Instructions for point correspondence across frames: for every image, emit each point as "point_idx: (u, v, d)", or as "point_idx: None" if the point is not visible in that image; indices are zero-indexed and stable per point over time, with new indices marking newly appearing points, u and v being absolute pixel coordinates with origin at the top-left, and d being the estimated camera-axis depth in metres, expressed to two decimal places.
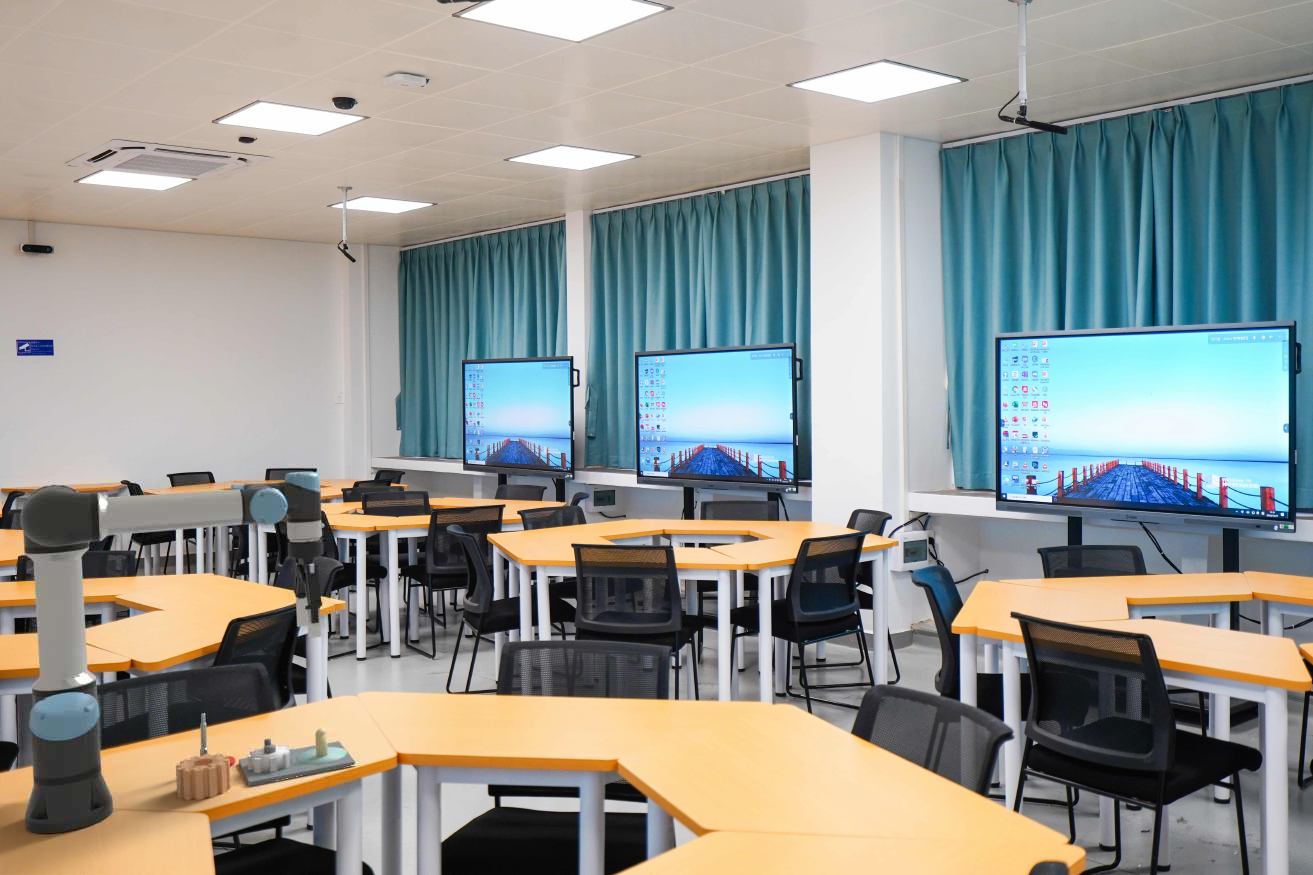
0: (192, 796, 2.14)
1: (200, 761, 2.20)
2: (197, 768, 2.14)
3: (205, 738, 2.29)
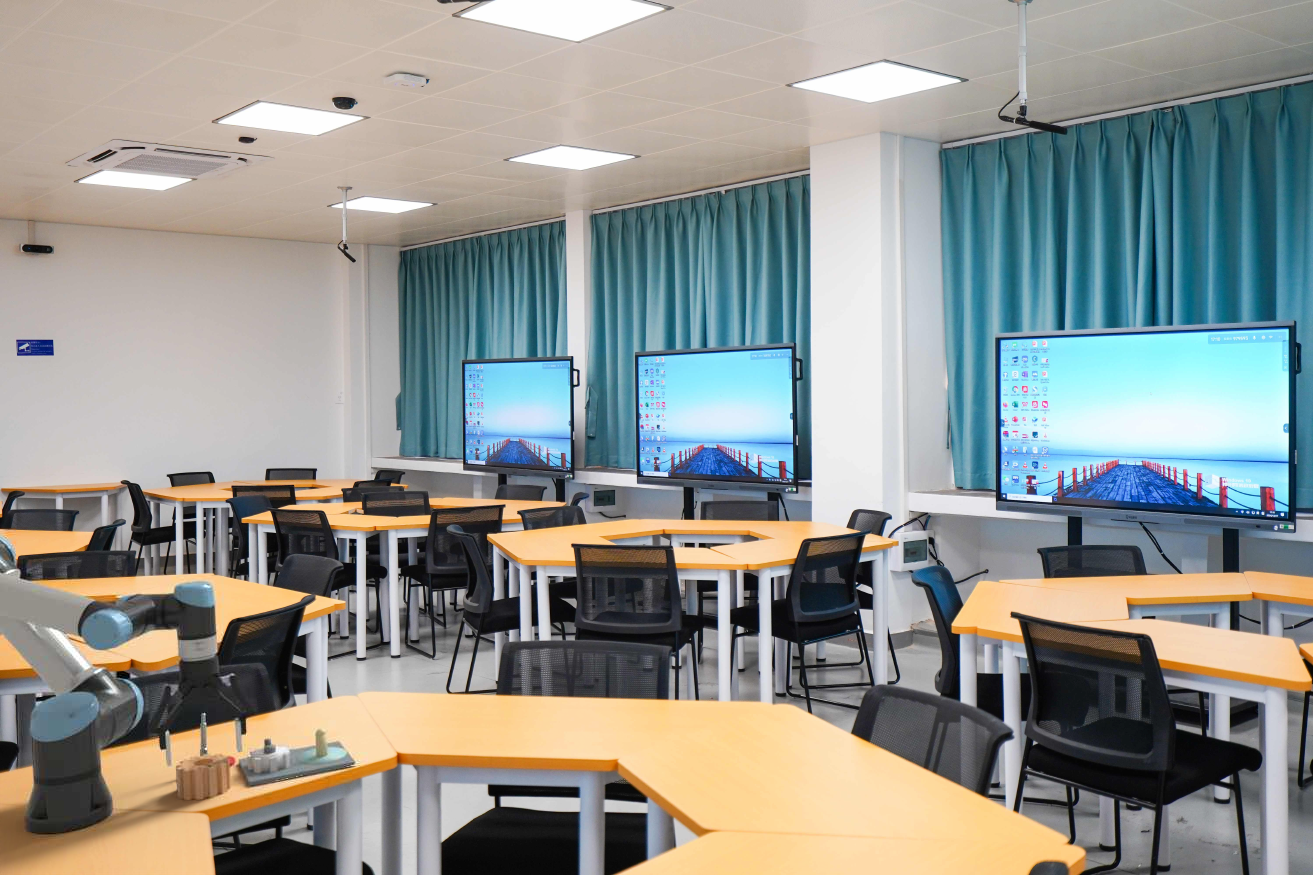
0: (192, 796, 2.14)
1: (200, 761, 2.20)
2: (197, 768, 2.14)
3: (205, 738, 2.29)
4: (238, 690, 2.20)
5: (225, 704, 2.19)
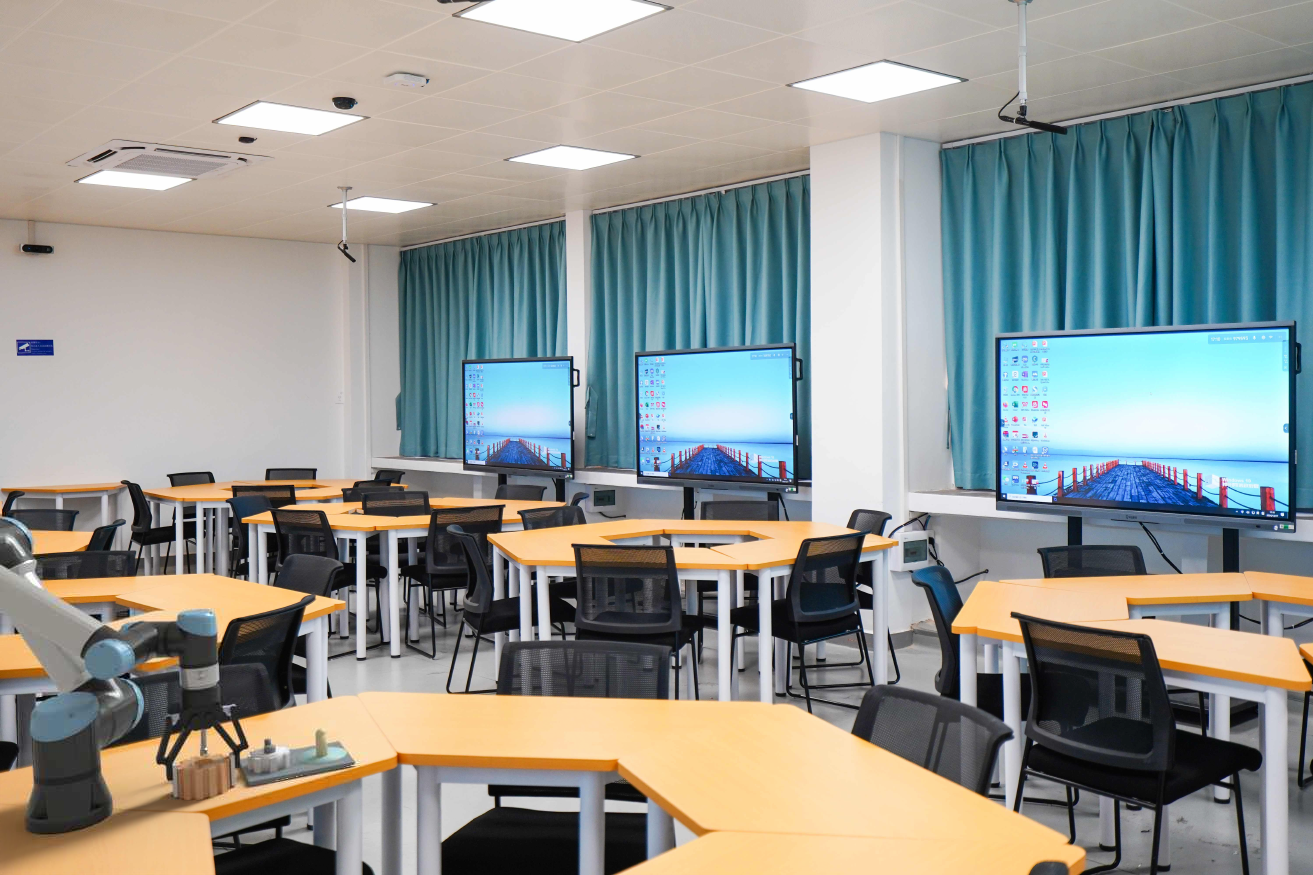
0: (192, 796, 2.14)
1: (200, 761, 2.20)
2: (197, 768, 2.14)
3: (205, 738, 2.29)
4: (237, 722, 2.20)
5: (222, 735, 2.18)
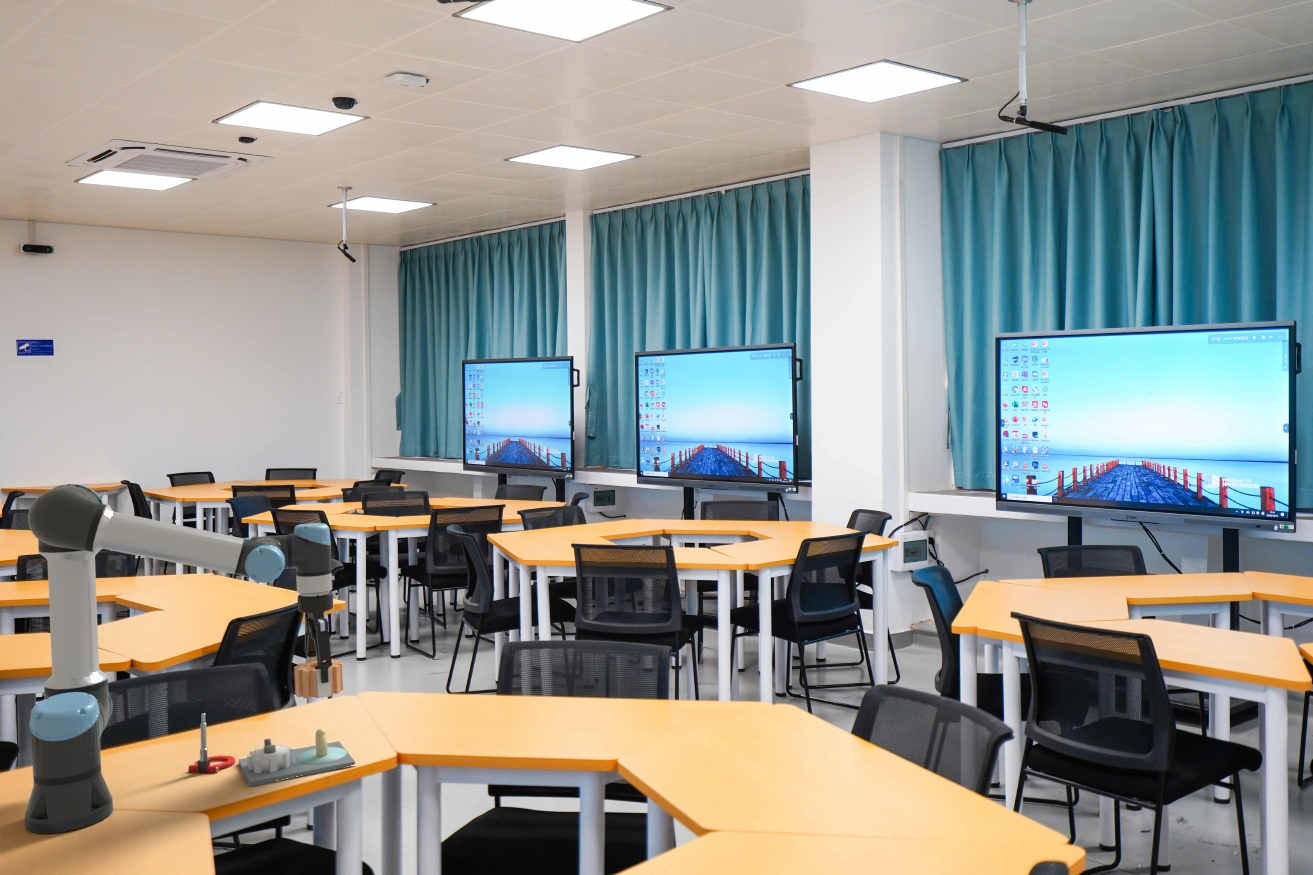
0: None
1: None
2: (335, 664, 2.34)
3: (205, 738, 2.29)
4: None
5: None
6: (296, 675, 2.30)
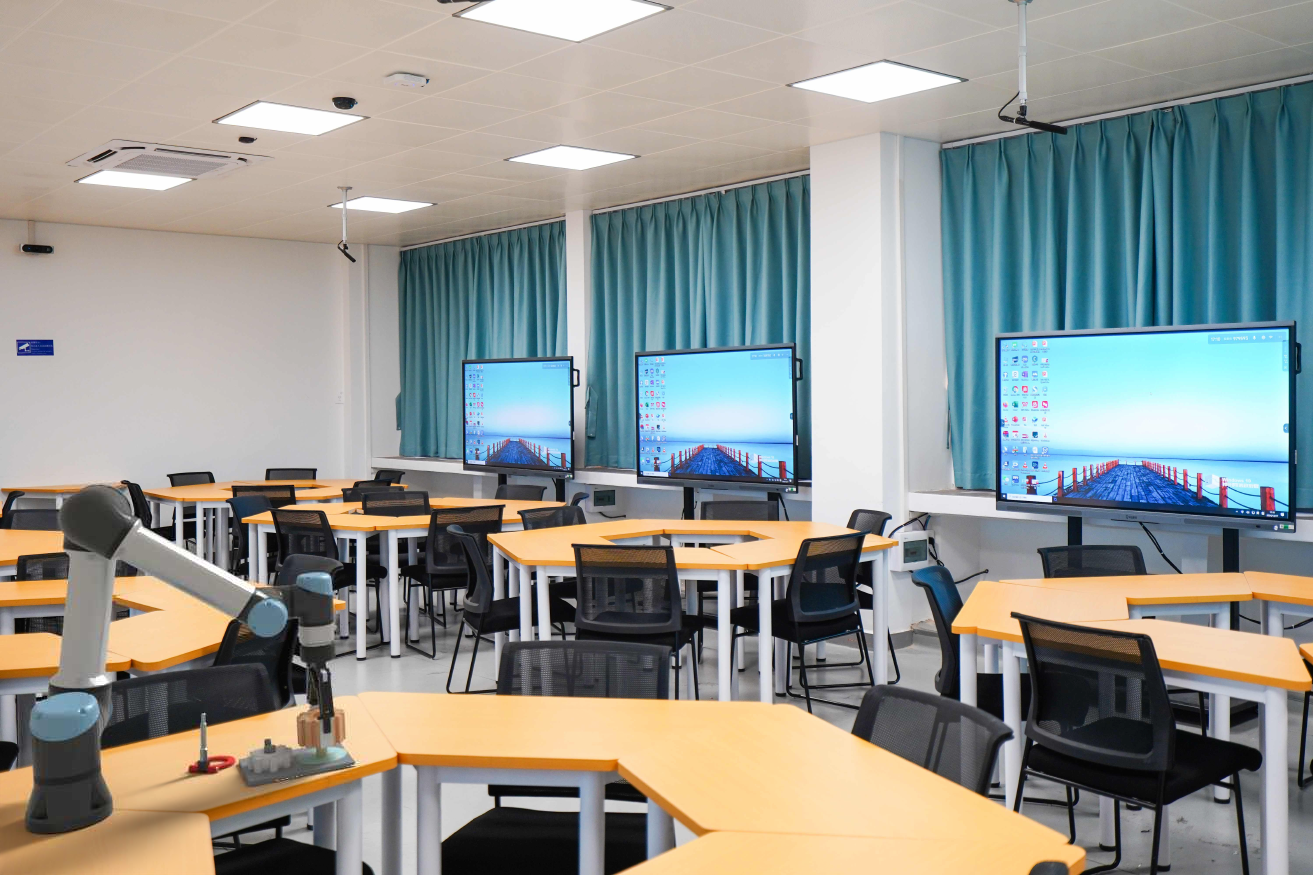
0: None
1: None
2: (337, 713, 2.35)
3: (205, 738, 2.29)
4: None
5: None
6: (299, 725, 2.31)
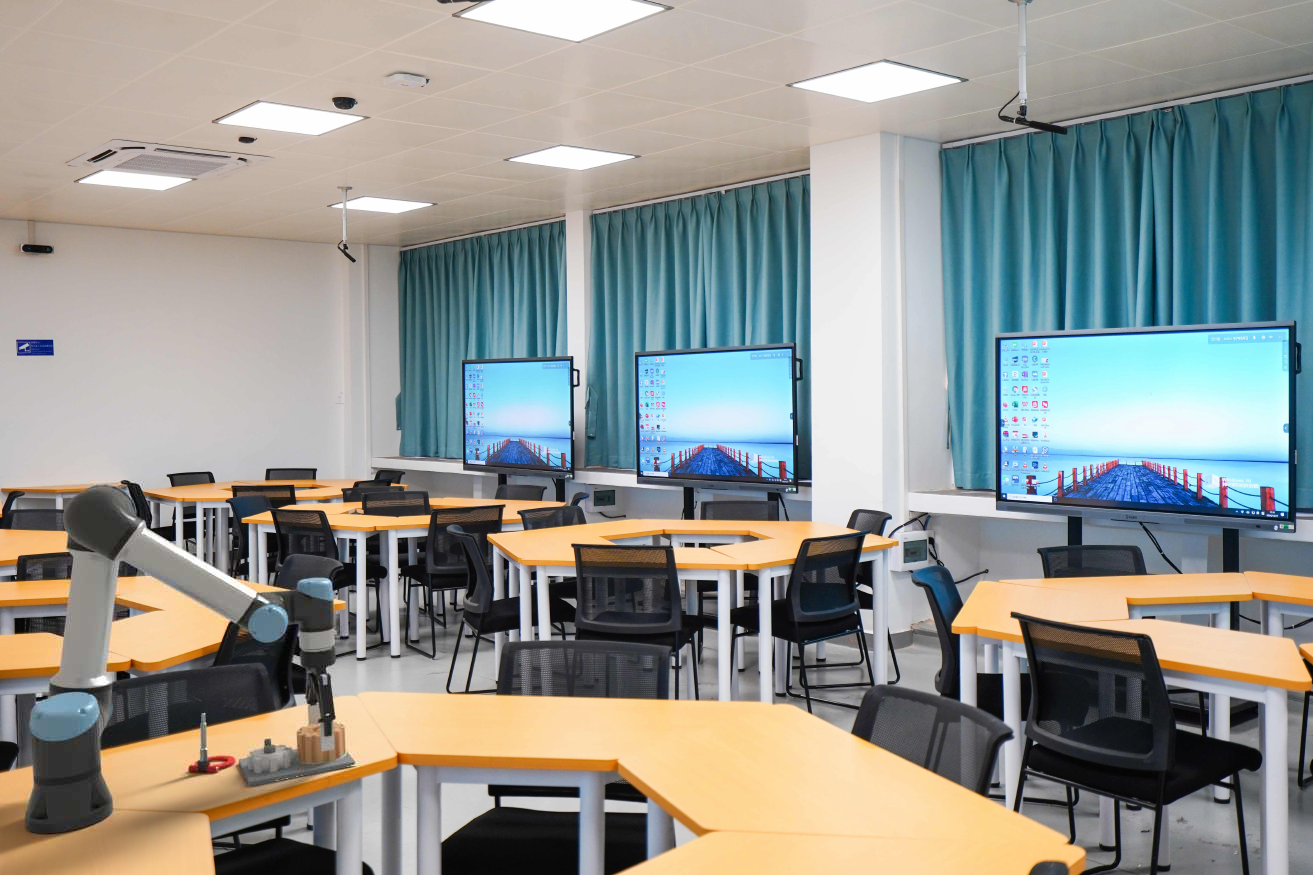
0: None
1: None
2: (337, 728, 2.35)
3: (205, 738, 2.29)
4: None
5: None
6: (299, 740, 2.31)
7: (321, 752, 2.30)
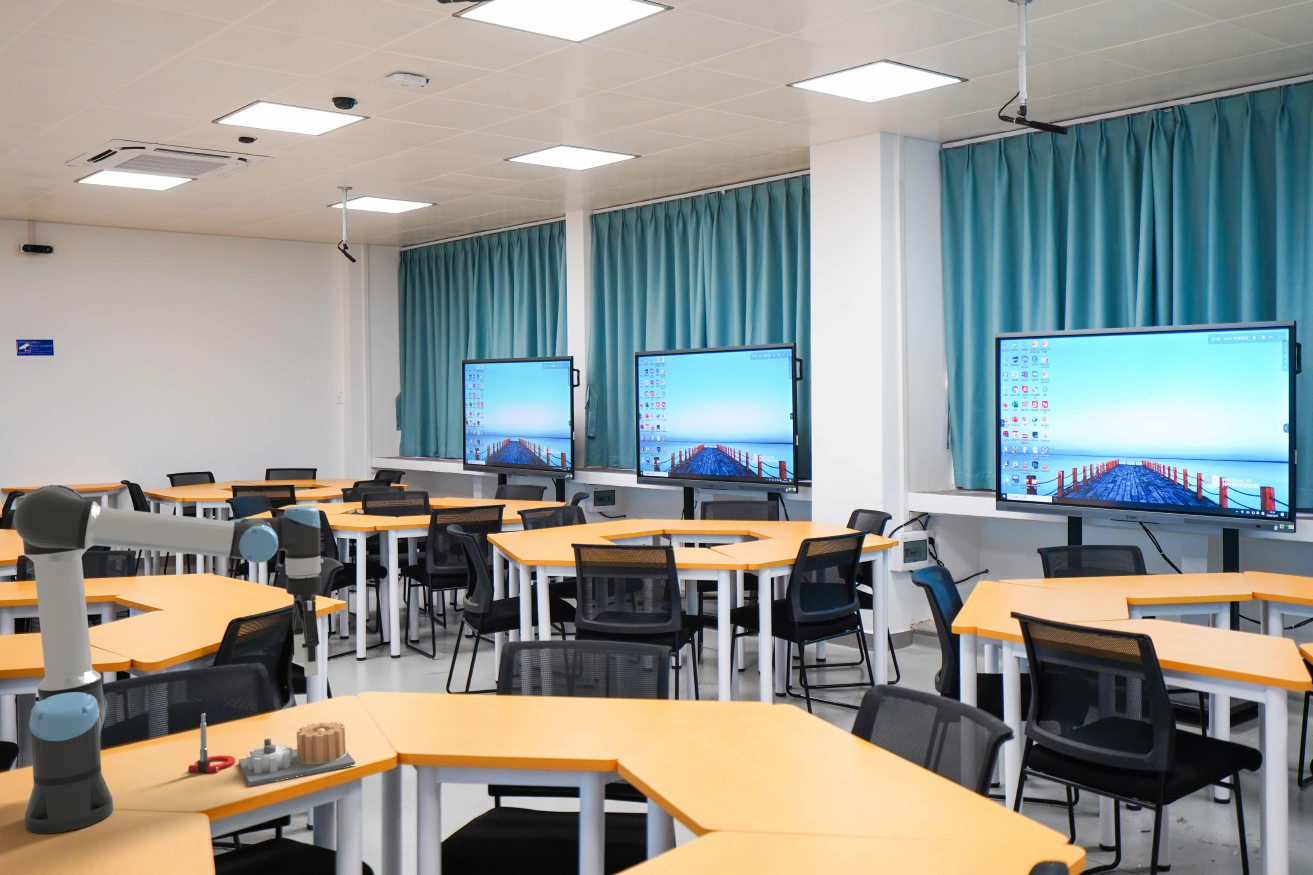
0: None
1: None
2: (337, 728, 2.35)
3: (205, 738, 2.29)
4: None
5: None
6: (299, 740, 2.31)
7: (321, 752, 2.30)
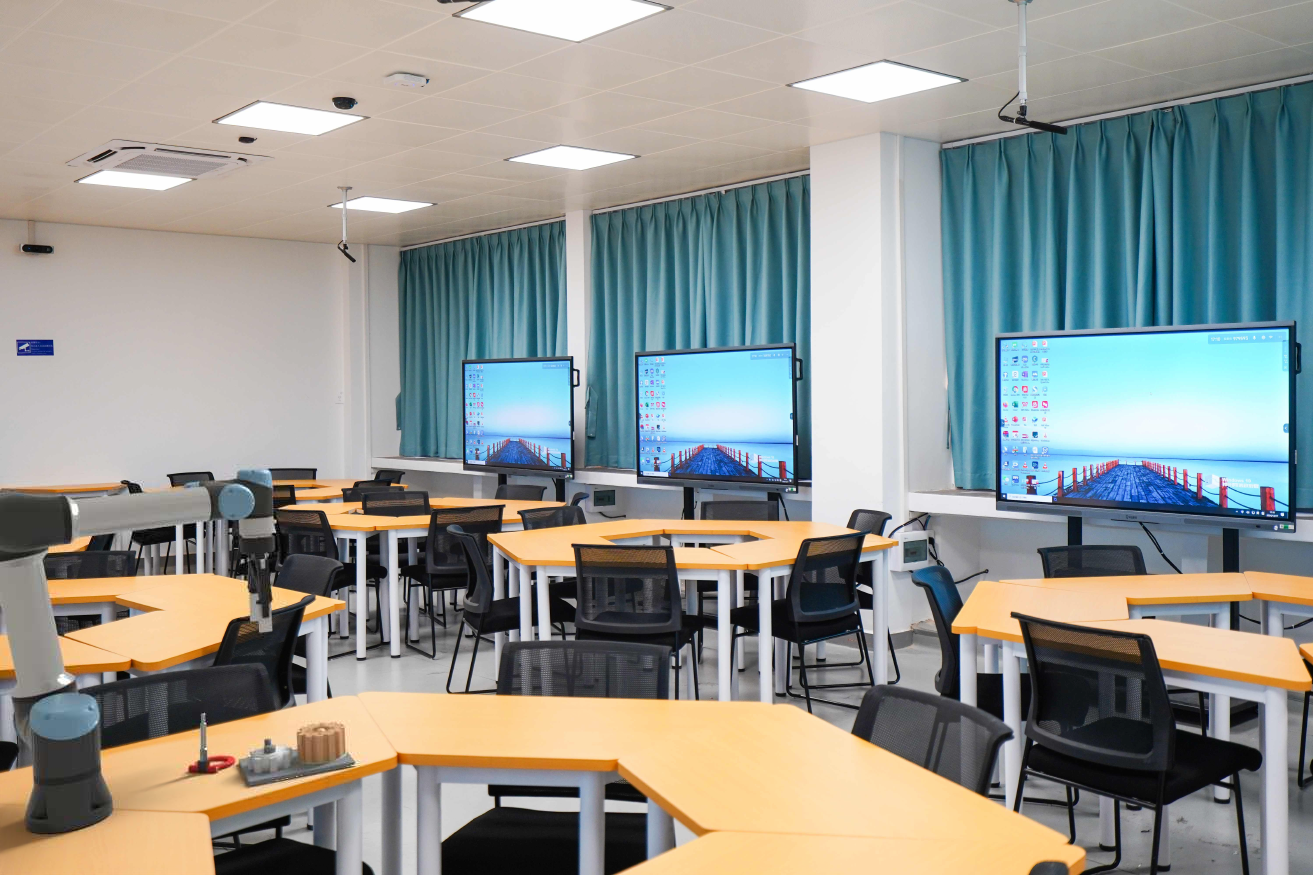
0: None
1: None
2: (337, 728, 2.35)
3: (205, 738, 2.29)
4: None
5: None
6: (299, 740, 2.31)
7: (321, 752, 2.30)
